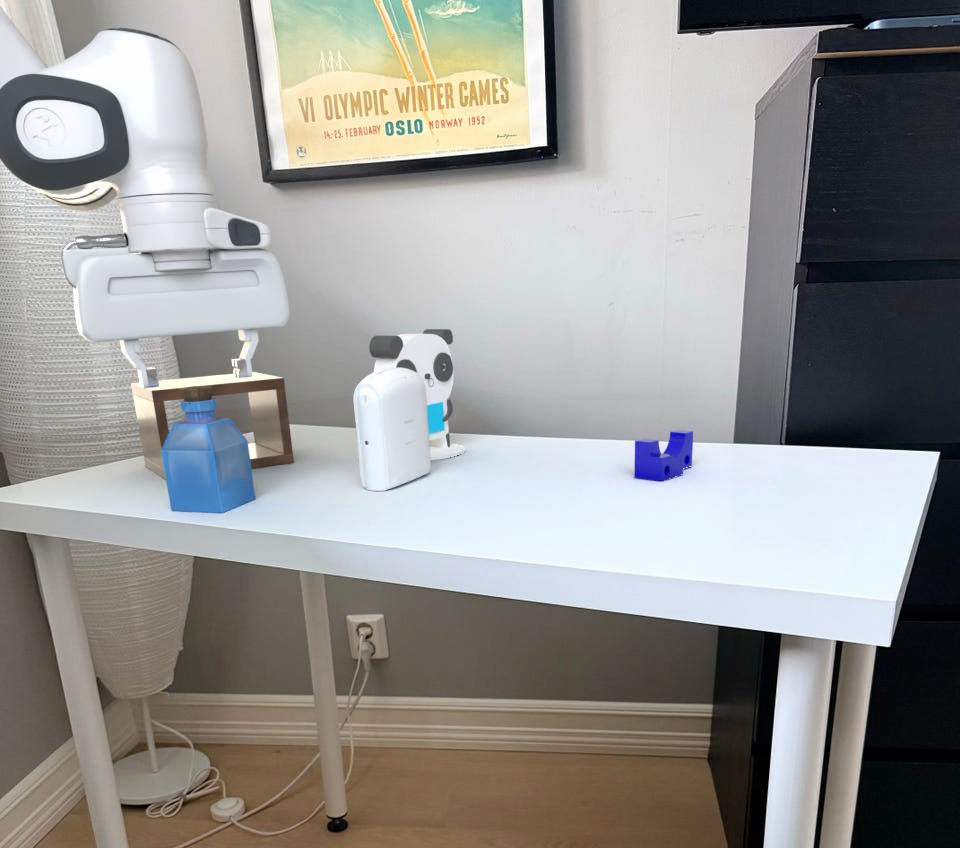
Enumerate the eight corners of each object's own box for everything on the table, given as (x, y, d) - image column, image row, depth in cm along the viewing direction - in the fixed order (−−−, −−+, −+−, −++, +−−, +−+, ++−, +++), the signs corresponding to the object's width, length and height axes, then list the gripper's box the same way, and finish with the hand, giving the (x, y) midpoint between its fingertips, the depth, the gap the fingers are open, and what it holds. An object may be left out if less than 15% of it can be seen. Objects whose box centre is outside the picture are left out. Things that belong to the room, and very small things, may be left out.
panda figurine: (421, 465, 113) (412, 336, 107) (356, 457, 119) (344, 335, 114) (483, 449, 121) (477, 328, 116) (419, 442, 128) (411, 328, 122)
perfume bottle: (206, 497, 101) (189, 384, 97) (255, 499, 99) (239, 383, 95) (171, 510, 96) (150, 391, 92) (222, 513, 94) (203, 391, 89)
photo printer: (389, 492, 99) (379, 373, 95) (356, 490, 101) (344, 373, 96) (436, 473, 108) (430, 363, 103) (405, 471, 109) (397, 363, 105)
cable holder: (661, 481, 98) (662, 443, 97) (634, 477, 101) (635, 440, 99) (703, 468, 103) (704, 432, 102) (676, 465, 106) (677, 429, 104)
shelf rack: (166, 480, 111) (151, 390, 107) (145, 466, 121) (130, 383, 117) (294, 462, 118) (284, 377, 114) (264, 450, 128) (254, 371, 124)
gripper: (61, 234, 81) (94, 396, 86) (285, 226, 90) (303, 373, 95) (51, 238, 86) (83, 391, 91) (264, 230, 95) (282, 369, 100)
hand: (197, 382), depth 93 cm, fingers open, 8 cm apart
